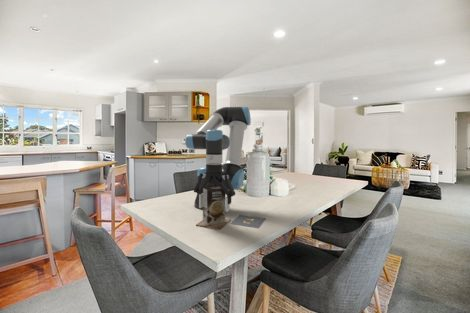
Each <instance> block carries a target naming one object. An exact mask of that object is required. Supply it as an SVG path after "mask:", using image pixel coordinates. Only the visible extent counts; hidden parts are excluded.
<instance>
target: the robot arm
mask: <svg viewBox="0 0 470 313" xmlns="http://www.w3.org/2000/svg"><path fill="white" fill-rule="evenodd" d="M250 112H251V111H250V108H249V107H248V106H225V107H224V106H223V107H220V108H219V109H217V110H215V111H213V112H212V113H211V114H210V115H209V117H208V119H207V121H206V122H205V123H204V124H202V126H201V127H200V128H199V129H198V130H197V131H196V132H195V133H191V134H187V135H186V136H185V139H184V140H185V141H184V142H185V147H186V148H187V149H189V150H205V163H206V164H205V166H202V167H199V168H198V169H197V173H196V174H197V175H196V177H197V182H196V185H195V187H194V189H193V192H194V193H196V197H195V200H194V208H196V209H199V210H203V188H207V187H219V186H220V187H221V188H222V190H223V191H224V192H225V194H226V199H225V213H227V212H229V211H230V207H231V206H230V205H231V204H232V197H234V196H236V192H235V191H238V190H240V189H241V188H242V186H243V183H244V180H245V170H243V168H242V167H243V166H242V165H241V160H242V159H241V157H242V152H243V145H244V144H243V143H244V136H245V131H246V130H247V129H248V126H251V123H252V121H251V120H252V119H251V113H250ZM222 126H228V127H229V129H230V130H229V136H228V135H226V134H223V130H222V129H219V128H221V127H222ZM225 150H227V151H226V154H225V155H226V156H225V162H224V163H223V160H224V159H223V151H225ZM222 163H223V164H222Z"/></svg>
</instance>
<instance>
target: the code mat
mask: <svg viewBox="0 0 470 313" xmlns="http://www.w3.org/2000/svg"><path fill="white" fill-rule="evenodd" d="M266 219H267V218H266V217H262V216H261V217H260V216H253V215H248V214H247V215H246V214H238V215H237V216H236V217H235V218H234V219H233V220H231V221H230V222H229V225H236V226H242V227H249V228H255V229H260V227H261V226H262V224H263V223H264V222H265V220H266Z"/></svg>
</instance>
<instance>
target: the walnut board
mask: <svg viewBox="0 0 470 313" xmlns="http://www.w3.org/2000/svg"><path fill="white" fill-rule="evenodd" d="M231 222H232V220H231V219H229V218H225V222H224V223H218V224H212V225H206V224H205V223H204V222H203V219H202V220H200V221H199V222H198V223H196V224H195V226H196V227H201V228H206V229H207V228H208V229H214V230H219V231H221V229H223V228H225V227H226V226H227V224H228V223H229V224H230V223H231Z"/></svg>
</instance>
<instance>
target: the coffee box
mask: <svg viewBox="0 0 470 313" xmlns="http://www.w3.org/2000/svg"><path fill="white" fill-rule="evenodd" d="M226 197H227V195H226V194H225V192H224V191H223V190H222V188H221V187H220V186H219V187H207V188H203V209H202V220H203V222H204V223H205V224H206V225H212V224H218V223H224V222H225V219H226Z"/></svg>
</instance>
